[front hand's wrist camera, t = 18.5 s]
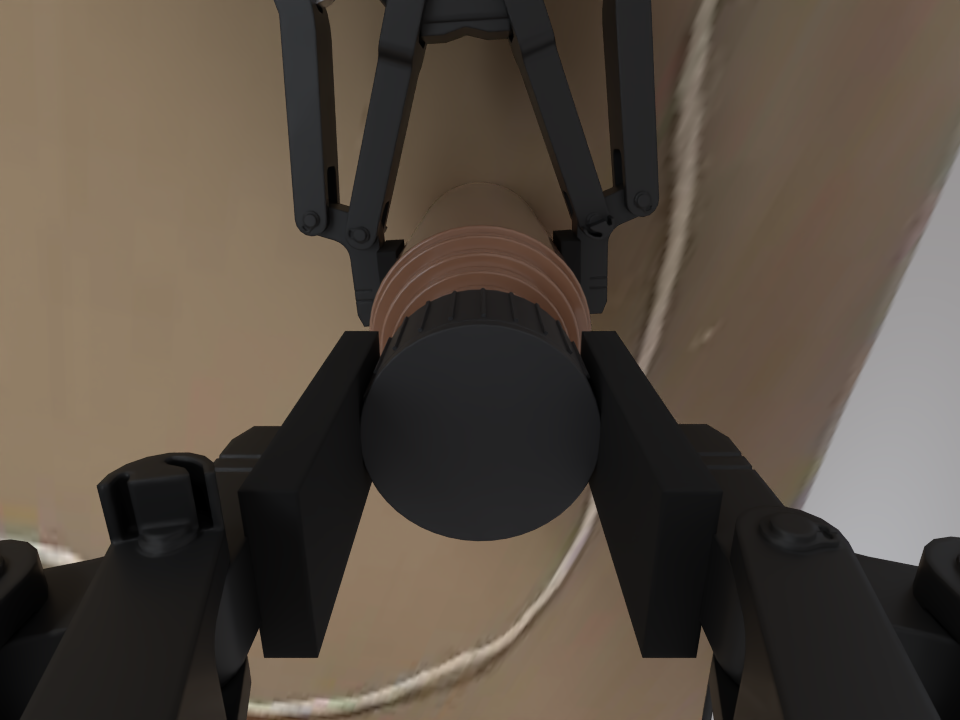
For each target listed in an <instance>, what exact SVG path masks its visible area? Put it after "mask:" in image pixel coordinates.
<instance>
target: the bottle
mask: <svg viewBox="0 0 960 720" xmlns="http://www.w3.org/2000/svg"><path fill="white" fill-rule="evenodd" d="M481 288H485V290H497V291H501V292H506V293H509V292H513V294H514V295H516V296H519V297H522V298H524V299H526V300H528V301H530V302H532V303H534V304H535V303H538V304H539V306H540V308H542V309H543V310H544V311H546V312H547V313H548V314H549V315H550V316H551V317H553V318H554V319H555V320H556V321H557V320H559V321H560V323H561V325H562V328H563V330H564V331H565V332H566V334H567V336H568V337H569V339H570V341H571V342H572V341H574V342H575V344H576V347H577V349H578V351H579V353H580V352H581V336H582V331H591V320H590V311H589V308H588V304H587V300H586V297H585V295H584V292H583V290H582V287H581V285H580V283H579V282H578V280H577V278H576V277H575V275H574V273H573V272H572V270H571V269H570V267H569V265H568V264H567V262H566V261H565V259H564V258H563V256H562V255H561V253H560V252H559V250H558V249H557V247H556V246H555V244H554V243H553V241H552V240H551V238H550V237H549V235H548V234H547V232H546V230H545V229H544V227H543V226H542V224H541V223H540V221H539V220H538V218H537V217H536V215H535V214H534V212H533V211H532V209H531V208H530V207H529V205H528V204H527V203H526V202H525V201H524V200H523V199H522V198H521V197H520V196H519V195H517V194H516V193H514V192H513V191H511V190H509V189H507V188H505V187H503V186H500V185H497V184H492V183H485V182H475V183H468V184H464V185H461V186H458V187H455V188H453V189H451V190H449V191H448V192H446V193H445V194H443V195H442V196H441V197H439V198H438V199H437V200H436V201H435V202H434V203H433V205H432V206H431V207H430V208H429V210H428V211H427V213H426V215H425V216H424V218H423V219H422V221H421V222H420V224H419V225H418V227H417V228H416V230H415V231H414V233H413V235H412V236H411V238H410V239H409V241H408V242H407V244H406V245H405V247H404V248H403V250H402V251H401V253H400V255H399V256H398V258H397V259H396V261H395V262H394V264H393V265H392V267H391V268H390V270H389V271H388V273H387V275H386V276H385V278H384V279H383V281H382V283H381V285H380V287H379V289H378V291H377V293H376V296H375V299H374V303H373V306H372V310H371V317H370V331H379V346H380V356H381V354H382V352H383V349H384V347H385V345H386V343H387V340H388V338H389V337H391V338H392V337H393V335H394V334H395V332H396V331H397V330H398V328H399V327H400V326H401V325H402V322H403V320H404V318H405V317H406V316H407V317H409V316H410V315H412V314H413V313H414V312H415V311H416V310H418V309H419V308H421V307H422V306H424V305H425V304H426V302H427V301H429V300H430V302H431V301H433V300H435V299H437V298H439V297H442V296H445V295H448V294H451V293H452V292H453V291H457V292H459V291H465V290H478V289H481Z"/></svg>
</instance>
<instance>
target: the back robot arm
mask: <svg viewBox="0 0 960 720" xmlns="http://www.w3.org/2000/svg"><path fill="white" fill-rule="evenodd" d="M334 1H335V0H274V2H275V5H276V7H277V10H278V12H279V17H280V30H281V43H282V57H283V70H284V83H285V96H286V109H287V122H288V135H289V148H290V161H291V174H292V187H293V200H294V213H295V222H296V225H297V227H298V229H299V230H300V231H301V232H302V233H304V234H305V235H309V236H316V235H318V236H321V237H325V238H328V239H331V240H335V241H337V242H339V243H341V244H342V245H343V246H344V247H345V248H346V249H347V251H348V253H349V255H350V259H351V267H352V274H353V282H354V289H355V297H356V304H357V312H358V316H359V318H360V320H361V322H362V323H363V325H364V327H366V326H370V317H371V310H372V306H373V303H374V299H375V296H376V293H377V291H378V289H379V287H380V285H381V283H382V281H383V279H384V278H385V276H386V275H387V273H388V271H389V270H390V268H391V267H392V265H393V264H394V262H395V261H396V259H397V258H398V256H399V255H400V253H401V251H402V250H403V248H404V247H405V245H404V239H403V240H386V241H385V238H384V233H385V231H386V229H387V227H386V222H387V218H388V213H389V208H390V204H391V199H392V195H393V190H394V185H395V181H396V176H397V172H398V167H399V162H400V158H401V153H402V149H403V144H404V139H405V135H406V130H407V126H408V121H409V116H410V112H411V107H412V103H413V98H414V93H415V89H416V84H417V80H418V75H419V72H420V69H421V66H422V63H423V59H424V54H425V49H426V45H427V44H435V43H447V42H450V41H452V40H455V39H458V38H460V37H463V36H466V35H468V36H473V37H477V38H481V39H486V40H497V39H508V40H509V43H510V46H511V49H512V52H513V55H514V58H515V60H516V63H517V65H518V67H519V69H520V72H521V75H522V78H523V80H524V83H525V86H526V89H527V92H528V95H529V98H530V101H531V104H532V107H533V110H534V112H535V115H536V118H537V121H538V124H539V127H540V130H541V133H542V136H543V139H544V141H545V144H546V147H547V150H548V153H549V156H550V159H551V162H552V165H553V168H554V170H555V173H556V176H557V179H558V182H559V185H560V188H561V191H562V194H563V197H564V199H565V202H566V205H567V208H568V211H569V214H570V217H571V219H572V230H558V231H553V243H554V244H555V246H556V247H557V249H558V250H559V252H560V253H561V255H562V256H563V258H564V259H565V261H566V262H567V264H568V265H569V267H570V269H571V270H572V272H573V273H574V275H575V277H576V278H577V280H578V282H579V283H580V285H581V287H582V290H583V292H584V295H585V297H586V300H587V304H588V308H589V311H590V314H597V313H602V312H603V309H604V307H605V304H606V302H607V260H608V239H609V236H610V234H611V232H612V231H613V229H615V228H616V227H617V226H618V225H620V224H622V223H624V222H627V221H629V220H631V219H634V218H636V217H638V216H639V217H644V216H647V215H650V214H651V213H652V212H653V211H655V209H656V207H657V206H658V201H659V186H658V161H657V137H656V112H655V87H654V62H653V37H652V12H651V0H603V8H602V24H603V40H604V55H605V70H606V85H607V101H608V116H609V131H610V147H611V162H612V177H613V187H612V188H610V189H608V190H605V191H603V192H602V188H601V185H600V182H599V179H598V176H597V173H596V170H595V167H594V164H593V161H592V157H591V154H590V151H589V148H588V145H587V142H586V139H585V136H584V133H583V129H582V126H581V123H580V120H579V117H578V114H577V111H576V108H575V105H574V101H573V98H572V95H571V92H570V89H569V86H568V83H567V80H566V77H565V74H564V70H563V67H562V64H561V61H560V58H559V55H558V52H557V48H556V44H555V37H554V33H553V29H552V26H551V23H550V20H549V16H548V13H547V10H546V7H545V4H544V1H543V0H380V1H381V2H382V4H383V5H384V6H385V13H384V19H383V24H382V29H381V34H380V40H379V48H378V63H377V68H376V73H375V78H374V84H373V89H372V94H371V99H370V104H369V109H368V114H367V120H366V125H365V130H364V135H363V140H362V145H361V150H360V155H359V161H358V166H357V171H356V176H355V181H354V186H353V191H352V197H351V202H350V206H346V205H343V204H340V196H339V176H338V156H337V137H336V117H335V97H334V77H333V58H332V40H331V30H330V24H329V19H328V14H327V11H326V8H325V7H328V6H329V5H331V4H332V3H333V2H334Z"/></svg>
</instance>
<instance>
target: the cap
mask: <svg viewBox="0 0 960 720" xmlns="http://www.w3.org/2000/svg"><path fill="white" fill-rule="evenodd" d="M373 373H374V374H373V376H372V378H371V380H370V383H369V385H368V387H367V390H366V392H365V394H364V396H363V400H364V404H363V407H362V411H361V417H360V434H361V447H362V457H363V461H364V465H365V467H366V469H367V472H368V474H369V476H370V478H371V480H372V482H373V483H374V485H375V487H376V488H377V490H378V491H379V493H380V494H381V495H382V496H383V498H384V499H385V500H386V501H387V502H388V503H389V504H390V505H391V506H392V507H393V508H394V509H395V510H396V511H397V512H399V513H400V514H401V515H403V516H404V517H405V518H407V519H408V520H409V521H411V522H413V523H415V524H416V525H418V526H420V527H422V528H424V529H426V530H429V531H431V532H433V533H436V534H439V535H443V536H446V537H450V538H455V539H460V540H470V541H493V540H500V539H507V538H511V537H515V536H519V535H522V534H525V533H527V532H530V531H532V530H535V529H537V528H539V527H541V526H543V525H545V524H547V523H548V522H550V521H551V520H553V519H554V518H556V517H557V516H559V515H560V514H561V513H562V512H563V511H565V510H566V509H567V508H568V507H569V506H570V505H571V504H572V503H573V502H574V501H575V500H576V499H577V497H578V496H579V495H580V494H581V492H582V491H583V490H584V488H585V487H586V485H587V484H588V482H589V480H590V478H591V476H592V474H593V472H594V470H595V467H596V464H597V461H598V453H599V440H600V426H601V416H600V411H599V407H598V404H597V400H596V398H595V395H594V393H593V391H592V388H591V386H590V384H589V381H588V379H589V378H590V376H589V373H588V371H587V369H586V367H585V364H584V362H583V360H582V358H581V355H580V353H579V351H578V349H577V347H576V344H575V342H574V341H572V342H571V341H570V339H569V337H568V336H567V334H566V332H565V331H564V330H563V328H562V325H561V323H560V321H559V320H557V321H556V320H555V319H554V318H553V317H551V316H550V315H549V314H548V313H547V312H546V311H544V310H543V309H542V308H540V306H539V304H538V303H535V304H534V303H532V302H530V301H528V300H526V299H524V298H522V297H519V296H516V295H514V294H513V292H509V293H506V292H501V291H497V290H485V288H481V289H478V290H465V291H459V292H457V291H453V292H452V293H451V294H448V295H445V296H442V297H439V298H437V299H435V300H433V301H431V302H430V300H429V301H427V302H426V304H425V305H424V306H422V307H421V308H419V309H418V310H416V311H415V312H414V313H413V314H412V315H410V316H409V317H407V316H406V317H405V318H404V320H403V322H402V325H401V326H400V327H399V328H398V330H397V331H396V332H395V334H394V335H393V337H392V338H391V337H389V338H388V340H387V343H386V345H385V347H384V349H383V352H382V354H381V356H380V358H379V361H378V363H377V365H376V367H375V370H374V372H373Z"/></svg>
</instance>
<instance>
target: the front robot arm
mask: <svg viewBox="0 0 960 720" xmlns="http://www.w3.org/2000/svg"><path fill="white" fill-rule="evenodd" d="M580 355H581V358H582V360H583V362H584V364H585V367H586V369H587V371H588V373H589V376H590V378H589V379H588V381H589V384H590V386H591V388H592V391H593V393H594V395H595V398H596V400H597V404H598V407H599V411H600V416H601V426H600V440H599V453H598V461H597V464H596V467H595V470H594V472H593V474H592V476H591V478H590V480H589V485H590V488H591V492H592V495H593V498H594V501H595V505H596V508H597V511H598V514H599V518H600V521H601V524H602V527H603V531H604V534H605V537H606V540H607V544H608V547H609V550H610V553H611V557H612V560H613V563H614V566H615V570H616V573H617V576H618V579H619V583H620V586H621V589H622V592H623V596H624V599H625V602H626V605H627V609H628V612H629V615H630V618H631V622H632V625H633V628H634V631H635V635H636V638H637V641H638V644H639V648H640V651H641V654H642V657H643V658H696V656H697V650H698V644H699V638H700V632H701V625H702V627H703V630H704V632H705V634H706V636H707V639H708V641H709V643H710V645H711V648H712V650H713V657H712V663H711V668H710V674H709V680H708V686H707V691H706V697H705V703H704V709H703V716H702V720H711V717H712V712H713V717H714V720H960V538H959V537H945V538H938V539H933V540H932V541H931V542H930V543H928V544H927V545H926V546H925V547H924V550H923V553H922V556H921V559H920V563H919V566H914V565H909V564H903V563H898V562H893V561H888V560H883V559H878V558H873V557H868V556H864V555H860V554H856V553H854V551H853V549H852V547H851V545H850V544H849V542H848V541H847V540H846V538H845V537H844V536H843V535H842V534H841V532H840V531H839V530H838V529H836V528H835V527H833V526H832V525H830V524H829V523H827V522H826V521H824V520H823V519H821V518H819V517H816V516H814V515H811V514H809V513H806V512H804V511H802V510H798V509H793V508H788V507H785V506H784V505H783V504H782V503H781V501H780V500H779V499H778V498H777V497H776V495H775V494H774V493H773V492H772V490H771V489H770V488H769V487H768V485H767V484H766V483H765V482H764V480H763V479H762V478H761V477H760V476H759V474H758V473H757V472H756V471H755V470H752V466H751V464H750V463H749V462H748V461H747V459H746V458H745V457H744V456H741V452H740V451H739V450H738V448H737V447H736V446H735V445H734V443H733V442H732V441H731V440H730V438H729V437H727V436H725V435H724V434H722V433H720V432H719V431H717V430H715V429H714V428H712V427H710V426H709V425H707V424H677V422H676V421H675V419H674V418H673V416H672V415H671V413H670V412H669V410H668V409H667V407H666V406H665V404H664V403H663V401H662V400H661V398H660V397H659V395H658V394H657V392H656V391H655V389H654V388H653V386H652V385H651V383H650V382H649V381H648V379H647V378H646V376H645V375H644V373H643V372H642V370H641V369H640V367H639V366H638V364H637V363H636V361H635V360H634V358H633V357H632V355H631V354H630V352H629V351H628V349H627V348H626V346H625V345H624V343H623V342H622V340H621V339H620V337H619V336H618V334H617V333H616V331H582V336H581V352H580ZM379 358H380V346H379V331H345V332H344V334H343V335H342V336H341V338H340V339H339V341H338V342H337V344H336V345H335V347H334V348H333V350H332V351H331V353H330V354H329V356H328V357H327V359H326V360H325V362H324V363H323V365H322V366H321V368H320V369H319V371H318V372H317V374H316V375H315V377H314V378H313V380H312V381H311V383H310V384H309V386H308V387H307V389H306V390H305V392H304V393H303V394H302V396H301V397H300V399H299V400H298V402H297V403H296V405H295V406H294V408H293V409H292V411H291V412H290V414H289V415H288V417H287V418H286V420H285V421H284V423H283V424H282V426H254V427H252V428H250V429H249V430H247V431H245V432H244V433H242V434H241V435H239V436H237V437H236V438H234V439H232V440H231V442H230V443H229V444H228V445H227V447H226V448H225V449H224V450H223V451H222V453H221V454H220V455H219V459H216V460H215V461H214V463H213V462H212V461H211V460H209V459H208V458H207V457H205V456H203V455H198V454H194V453H166V454H161V455H155V456H150V457H146V458H143V459H140V460H137V461H134V462H131V463H128V464H126V465H124V466H122V467H120V468H119V469H117V470H115V471H113V472H111V473H110V474H108V475H107V476H106V477H105V478H104V479H103V480H102V481H101V482H100V483H99V484H98V485H97V489H98V493H99V497H100V501H101V505H102V509H103V513H104V517H105V521H106V524H107V528H108V532H109V536H110V540H111V545H110V547H109V549H108V550H107V552H106V554H105V556H104V557H100V558H96V559H92V560H87V561H82V562H77V563H72V564H66V565H61V566H56V567H51V568H46V569H43V567H42V564H41V561H40V558H39V554H38V551H37V549H36V548H34V547H33V546H32V545H31V544H30V543H28V542H24V541H17V540H11V539H10V540H1V541H0V720H246V718H247V711H248V703H249V696H250V688H251V676H250V668H249V663H248V657H247V654H248V652H249V650H250V647H251V645H252V643H253V641H254V638H255V636H256V634H257V632H258V629H260V635H261V641H262V648H263V654H264V658H318V656H319V652H320V649H321V646H322V643H323V639H324V636H325V633H326V630H327V626H328V623H329V620H330V616H331V613H332V610H333V607H334V603H335V600H336V597H337V594H338V590H339V587H340V584H341V581H342V577H343V574H344V571H345V568H346V564H347V561H348V558H349V555H350V551H351V548H352V545H353V542H354V538H355V535H356V532H357V529H358V525H359V522H360V519H361V516H362V512H363V509H364V506H365V503H366V499H367V496H368V493H369V490H370V486H371V483H372V480H371V478H370V476H369V474H368V472H367V469H366V467H365V465H364V461H363V457H362V447H361V434H360V417H361V411H362V407H363V404H364V400H363V396H364V394H365V392H366V390H367V387H368V385H369V383H370V380H371V378H372V376H373V374H374V373H373V372H374V370H375V367H376V365H377V363H378V361H379Z"/></svg>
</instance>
